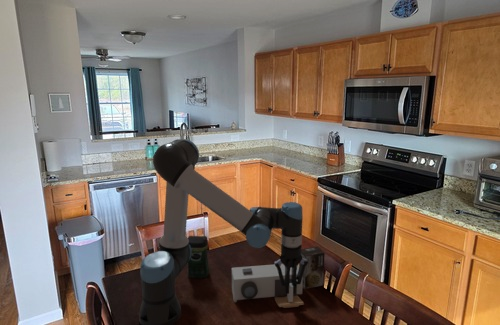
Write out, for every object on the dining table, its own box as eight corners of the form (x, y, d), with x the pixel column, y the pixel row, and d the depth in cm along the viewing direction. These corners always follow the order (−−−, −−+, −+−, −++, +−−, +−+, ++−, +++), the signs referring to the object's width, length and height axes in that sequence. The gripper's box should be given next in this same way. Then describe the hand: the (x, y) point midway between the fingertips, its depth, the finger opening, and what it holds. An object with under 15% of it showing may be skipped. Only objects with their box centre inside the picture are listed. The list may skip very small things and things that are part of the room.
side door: (274, 301, 133) (279, 308, 125) (274, 297, 133) (278, 304, 126) (297, 298, 135) (303, 306, 127) (297, 295, 135) (303, 302, 127)
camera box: (234, 306, 130) (234, 280, 128) (231, 289, 141) (231, 265, 138) (303, 299, 134) (304, 274, 132) (295, 283, 145) (296, 260, 143)
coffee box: (316, 279, 148) (317, 245, 145) (323, 287, 142) (325, 252, 139) (297, 283, 145) (298, 248, 142) (304, 291, 139) (305, 255, 136)
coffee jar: (210, 270, 156) (209, 233, 152) (207, 279, 148) (206, 241, 144) (190, 269, 157) (188, 232, 153) (185, 278, 149) (184, 240, 145)
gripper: (276, 249, 119) (275, 308, 124) (311, 247, 121) (309, 304, 126) (272, 240, 126) (271, 295, 131) (305, 238, 128) (303, 292, 133)
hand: (290, 300), depth 128 cm, fingers closed
